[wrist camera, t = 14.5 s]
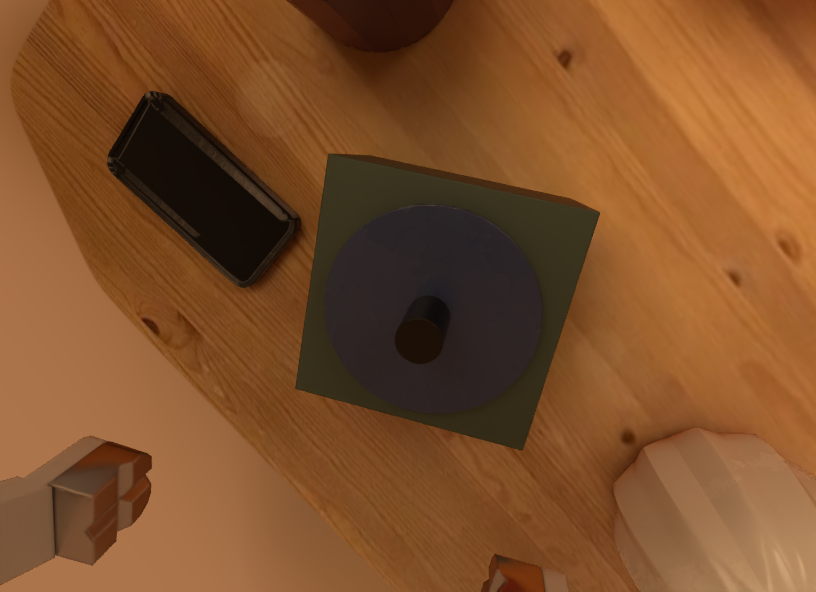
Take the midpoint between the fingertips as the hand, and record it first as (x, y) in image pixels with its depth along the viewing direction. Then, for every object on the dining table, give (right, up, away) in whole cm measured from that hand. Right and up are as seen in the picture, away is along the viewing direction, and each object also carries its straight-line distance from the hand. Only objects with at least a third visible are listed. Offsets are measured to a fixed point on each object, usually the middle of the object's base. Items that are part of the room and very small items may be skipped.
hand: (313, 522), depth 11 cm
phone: (-14, +13, +27) cm, 33 cm away
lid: (+3, +4, +16) cm, 17 cm away
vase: (+25, -10, +27) cm, 38 cm away
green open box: (+5, +7, +26) cm, 27 cm away
